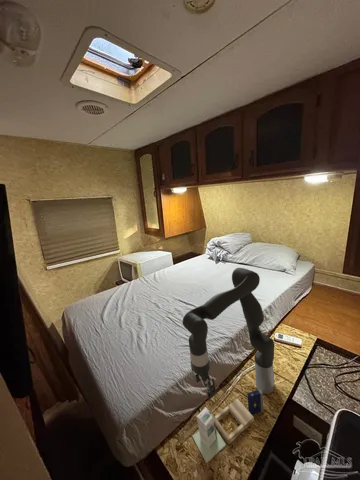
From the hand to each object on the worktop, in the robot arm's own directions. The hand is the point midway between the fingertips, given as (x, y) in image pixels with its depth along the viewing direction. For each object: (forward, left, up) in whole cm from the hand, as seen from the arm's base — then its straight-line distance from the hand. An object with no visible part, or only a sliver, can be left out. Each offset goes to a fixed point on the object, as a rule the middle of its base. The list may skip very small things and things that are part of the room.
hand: (204, 388), depth 84 cm
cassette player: (-26, +4, -29) cm, 39 cm away
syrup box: (+2, +1, -28) cm, 28 cm away
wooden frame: (-13, +1, -29) cm, 32 cm away
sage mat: (+2, +1, -29) cm, 29 cm away
